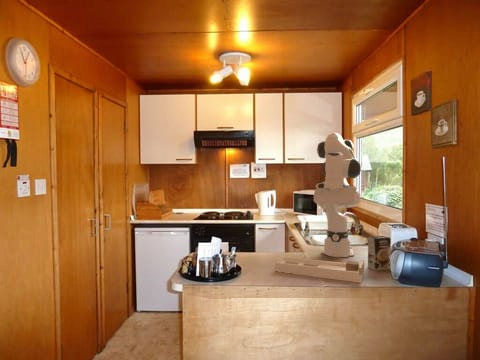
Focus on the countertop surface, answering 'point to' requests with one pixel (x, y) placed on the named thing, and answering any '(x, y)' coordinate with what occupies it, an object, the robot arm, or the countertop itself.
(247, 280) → the countertop surface
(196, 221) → the countertop surface
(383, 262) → the coffee box
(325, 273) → the trap track
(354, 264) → the walnut block
